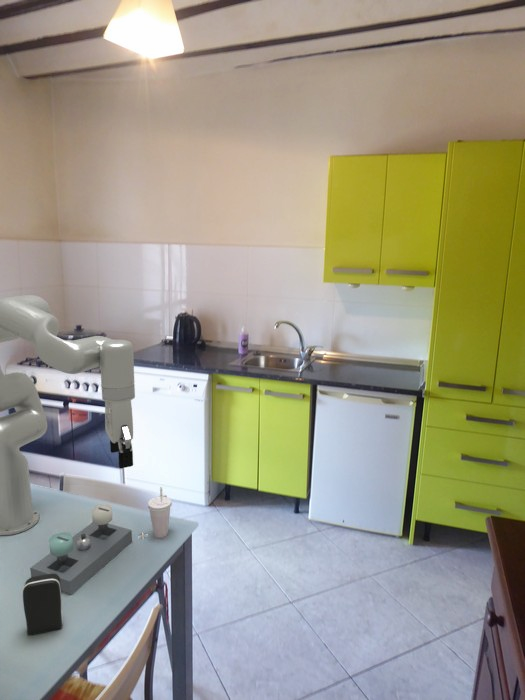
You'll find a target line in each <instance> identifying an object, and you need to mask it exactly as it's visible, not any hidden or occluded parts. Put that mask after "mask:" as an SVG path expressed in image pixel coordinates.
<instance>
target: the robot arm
mask: <svg viewBox="0 0 525 700" xmlns="http://www.w3.org/2000/svg"><path fill="white" fill-rule="evenodd" d="M59 331H60V323H59V320H58V318H57V317H56V316H55V315H53V314H52V313H51V308H50V305H49V304H48V302H47V301H46V300H45V299H44V298H42V297H40V296H38V295H36V294H25V295H15V296H14V295H13V296H7V297H3V298H0V343H5V342H11V341H14V340H17V339H23V340H24V341H26V342H28V343H30V344H33V345H32V347H33V349H34V351H35V354H36V355H37V356H38V358H39V359H40V360H41V361H42V363H44V364H46V365H47V366H49V367H51V368H53V369H55V370H57V371H59V372H62V373H65V374H69V375H70V374H71V375H77V374H81V373H83V372H87V371H90V370H92V369H97V368H100V381H101V382H100V383H101V400H102V401H103V402H104V419H105V420H104V425H105V427H104V429H105V430H104V431H105V433H106V435H107V437H108V439H109V445H110V453H111V454H113V453H117V455H118V467H119V469H125V468H129V467H133V466H134V451H133V443H132V440H133V439H134V422H133V421H134V419H133V407H132V400H135V397H136V390H135V389H136V388H135V366H134V365H135V362H134V346H133V344H132V342H131V341H129V340H126V339H113V338H109V337H106V336H102V335H93V336H89V337H84V338H83V337H82V338H79V339H75V340H71V341H67V340H65V339H62V338H60V337H59V336H58V335H59ZM43 407H44V406H43V404H42V401H41V399H40V396H39V393H38V390H37V387H36V385H35V383H34V381H33V380H32V379H31V377H29V376H28V375H27V374H25V373H23V372H18V371H16V372H11V373H7V374H4V372H3V370H2V368H1V366H0V413H1V412H5V411H8V410H11V409H13V408H14V411H15V412H12V413H9V414H6V415H3V416H1V417H0V536H11V535H16V534H20V533H23V532H25V531H27V530H30V529H31V528H33V527H34V526H35V525H36V524H37V523H38V522H39V520H40V513H39V511H38V510H36V509H34V508H33V502H32V499H33V498H32V491H31V490H32V489H31V480H30V470H29V469H30V468H29V462H28V459H27V456H25V455H24V454H23V453H22V452H21V450H20V448H21V447H23V446H25V445H28V444H29V443H31V442H33V441H36V440H39V439H40V438H41V437H43V436H45V434H46V432H47V430H48V420H47V416H46V413H45V410H44V408H43Z"/></svg>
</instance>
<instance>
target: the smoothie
mask: <svg viewBox="0 0 525 700" xmlns="http://www.w3.org/2000/svg"><path fill="white" fill-rule="evenodd" d="M159 487H160V486H159ZM159 491H160V494H159V496H156V497H153V498H151V499H150V500H148V501H147V508H148V510H149V514H150V515H149V517H150V520H151V525H152V526H151V527H152V531H153V532H152V533H153V537H154V538H156V539H163V538H166V537H167V535H169V534H168V533H169V524H170V523H169V522H170V514H171V507H172V505H173V504H172V503H173V502H172V499H171V498H169V497H167V496H163V486H161V487H160V488H159Z"/></svg>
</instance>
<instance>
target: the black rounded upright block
mask: <svg viewBox="0 0 525 700" xmlns="http://www.w3.org/2000/svg"><path fill="white" fill-rule="evenodd" d="M62 593H63V592H61V582H60V577H59V576H58V575H57V574H54V573H52V574H45V575H40V576H34V577H31V576H30V577H29V578H28V579H27V580H26V581H25V583H24V585H23V589H22V603H23V610H24V616H25V622H26V632H27V635H29V636H30V635H37V634H42V633H47V632H51V631H54V630H55V631H56V630H59V629H62V627H63V626H64V623H63V622H64V621H63V612H62V610H63V609H62V608H63V605H62Z"/></svg>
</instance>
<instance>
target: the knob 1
mask: <svg viewBox="0 0 525 700" xmlns="http://www.w3.org/2000/svg"><path fill="white" fill-rule="evenodd" d="M72 537H73V534H72V533H70V532H65V531H62V532H58V533H55V534H54V535H52V536H51V537H50V538H49V540H48V541H49V543H48V545H49V554H51V555H52V556H57V561H58V562H64V561H66V560H67V559H68V553H70V552H71V551H72V550H73V540H72Z"/></svg>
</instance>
